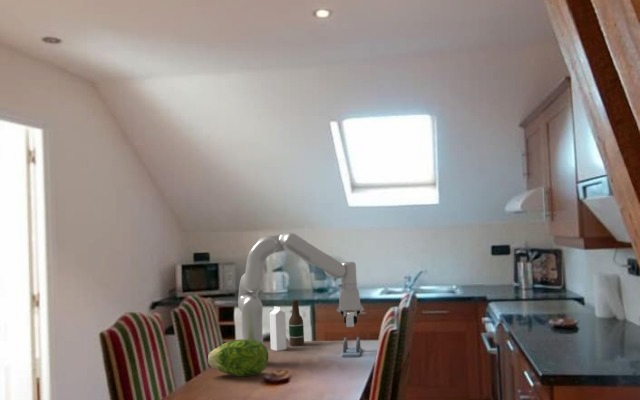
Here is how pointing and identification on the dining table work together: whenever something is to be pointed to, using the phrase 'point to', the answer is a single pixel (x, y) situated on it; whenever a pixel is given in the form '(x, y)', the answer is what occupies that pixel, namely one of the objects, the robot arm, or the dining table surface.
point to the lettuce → (239, 357)
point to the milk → (277, 329)
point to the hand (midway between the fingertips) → (350, 324)
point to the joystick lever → (350, 319)
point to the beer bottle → (296, 326)
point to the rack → (351, 349)
